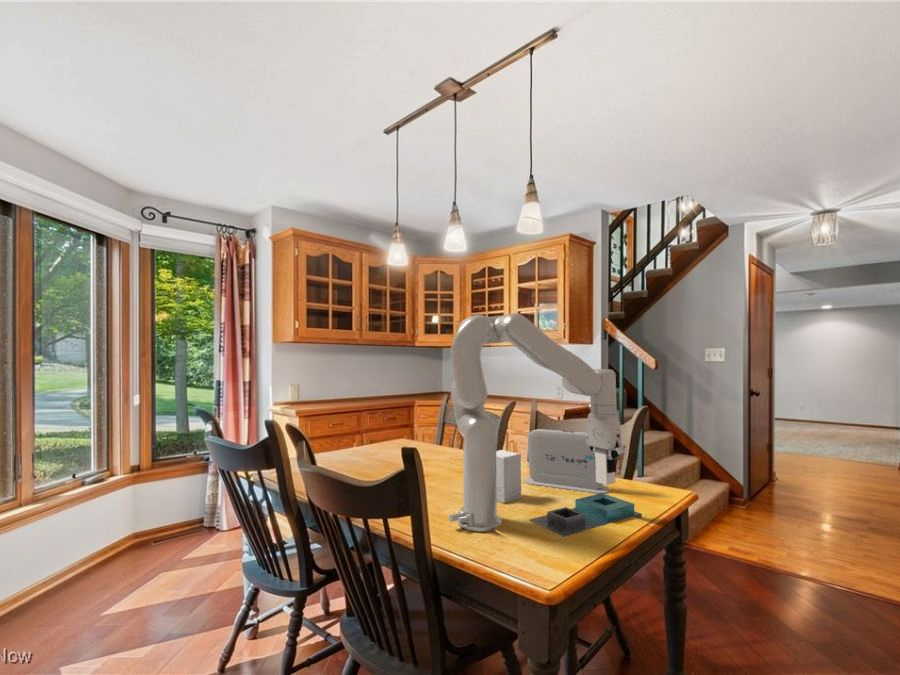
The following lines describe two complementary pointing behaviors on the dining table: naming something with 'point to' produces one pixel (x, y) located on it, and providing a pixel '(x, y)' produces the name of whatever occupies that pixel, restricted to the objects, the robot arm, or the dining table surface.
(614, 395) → the robot arm
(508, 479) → the supplement box
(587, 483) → the wireless router
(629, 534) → the dining table surface
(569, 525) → the panel
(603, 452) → the plug
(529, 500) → the dining table surface
